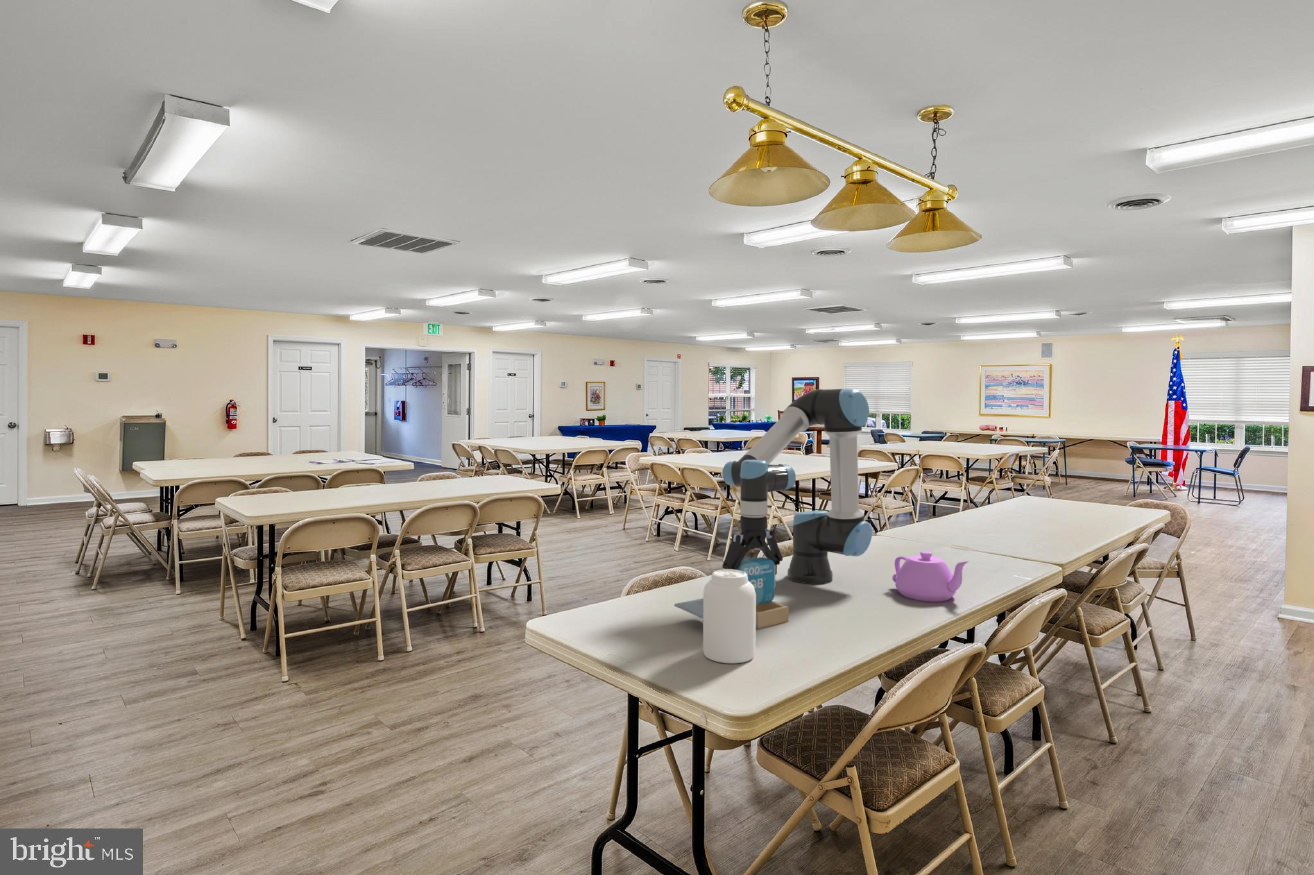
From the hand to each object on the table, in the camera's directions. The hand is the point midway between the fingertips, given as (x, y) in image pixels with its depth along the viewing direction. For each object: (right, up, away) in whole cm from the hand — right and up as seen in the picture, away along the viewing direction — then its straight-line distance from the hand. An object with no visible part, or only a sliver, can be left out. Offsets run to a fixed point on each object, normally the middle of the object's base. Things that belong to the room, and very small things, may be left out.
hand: (753, 590), depth 191 cm
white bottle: (-10, -9, -29) cm, 32 cm away
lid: (-13, -4, -8) cm, 16 cm away
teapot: (+58, -7, +21) cm, 62 cm away
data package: (0, -4, 0) cm, 4 cm away
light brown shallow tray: (0, -8, 0) cm, 7 cm away
